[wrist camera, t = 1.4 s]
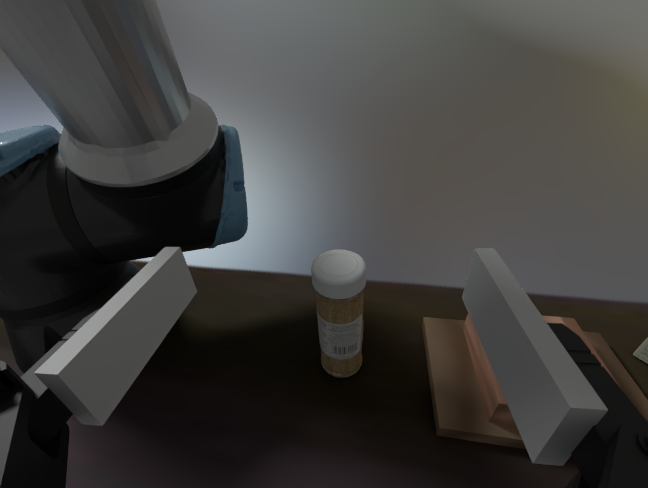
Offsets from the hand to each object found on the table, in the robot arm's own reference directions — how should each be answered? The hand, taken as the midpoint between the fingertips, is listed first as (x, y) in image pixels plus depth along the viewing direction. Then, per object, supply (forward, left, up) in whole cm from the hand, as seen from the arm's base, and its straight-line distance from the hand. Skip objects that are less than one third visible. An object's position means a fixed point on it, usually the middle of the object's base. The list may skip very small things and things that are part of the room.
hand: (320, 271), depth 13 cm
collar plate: (+14, +14, -20) cm, 28 cm away
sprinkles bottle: (-3, +8, -20) cm, 22 cm away
